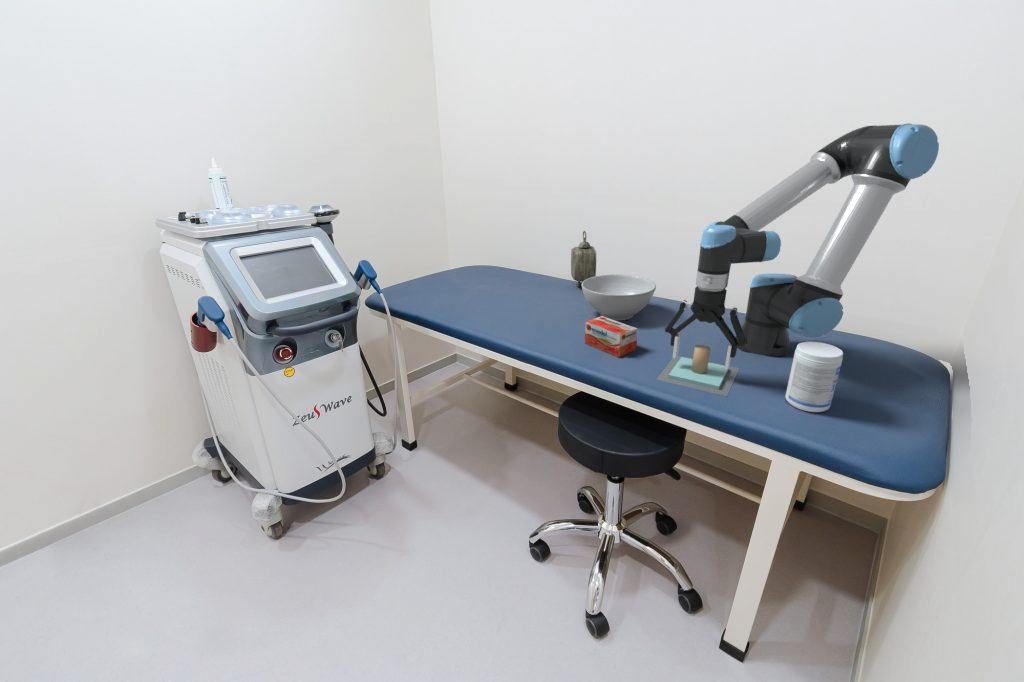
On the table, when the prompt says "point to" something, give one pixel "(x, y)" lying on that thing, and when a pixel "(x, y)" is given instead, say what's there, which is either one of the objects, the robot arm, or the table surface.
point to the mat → (722, 390)
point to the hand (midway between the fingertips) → (700, 361)
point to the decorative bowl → (618, 295)
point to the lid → (699, 369)
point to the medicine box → (610, 336)
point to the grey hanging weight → (583, 261)
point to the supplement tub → (813, 376)
